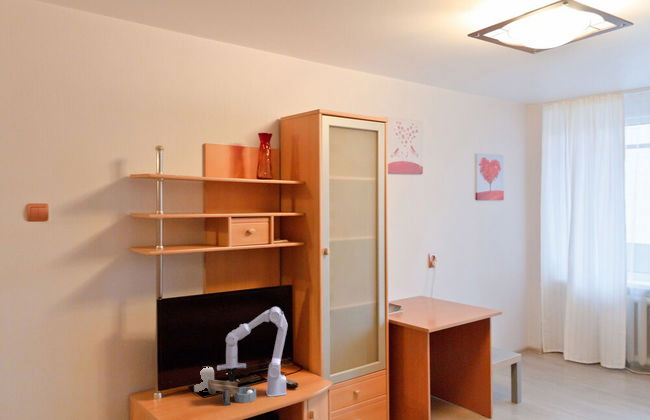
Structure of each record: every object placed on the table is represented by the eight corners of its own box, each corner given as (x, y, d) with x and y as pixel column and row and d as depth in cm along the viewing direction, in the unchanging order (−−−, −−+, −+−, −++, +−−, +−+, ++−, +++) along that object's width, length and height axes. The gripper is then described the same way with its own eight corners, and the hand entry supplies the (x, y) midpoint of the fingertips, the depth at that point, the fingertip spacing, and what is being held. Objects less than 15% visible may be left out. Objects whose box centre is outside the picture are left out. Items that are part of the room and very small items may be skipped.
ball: (248, 387, 257) (244, 393, 257) (249, 389, 254) (245, 396, 253) (254, 390, 258) (250, 397, 258) (255, 393, 255) (251, 399, 254)
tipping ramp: (233, 386, 264) (235, 378, 264) (237, 397, 250) (239, 388, 250) (205, 383, 259) (207, 374, 260) (208, 393, 245) (210, 384, 245)
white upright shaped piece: (194, 393, 263) (194, 369, 263) (194, 390, 267) (194, 366, 267) (214, 391, 265) (214, 367, 265) (214, 388, 269) (214, 365, 269)
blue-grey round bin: (253, 393, 262) (253, 385, 262) (257, 401, 252) (257, 393, 252) (233, 396, 258) (233, 388, 258) (236, 403, 248) (236, 395, 248)
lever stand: (227, 396, 258) (227, 381, 258) (230, 405, 247) (230, 389, 247) (221, 397, 257) (221, 382, 257) (224, 405, 246) (224, 390, 246)
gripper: (244, 353, 266) (244, 378, 266) (216, 355, 262) (216, 381, 262) (246, 356, 260) (246, 383, 260) (218, 359, 255) (217, 386, 255)
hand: (231, 382), depth 260 cm, fingers closed
